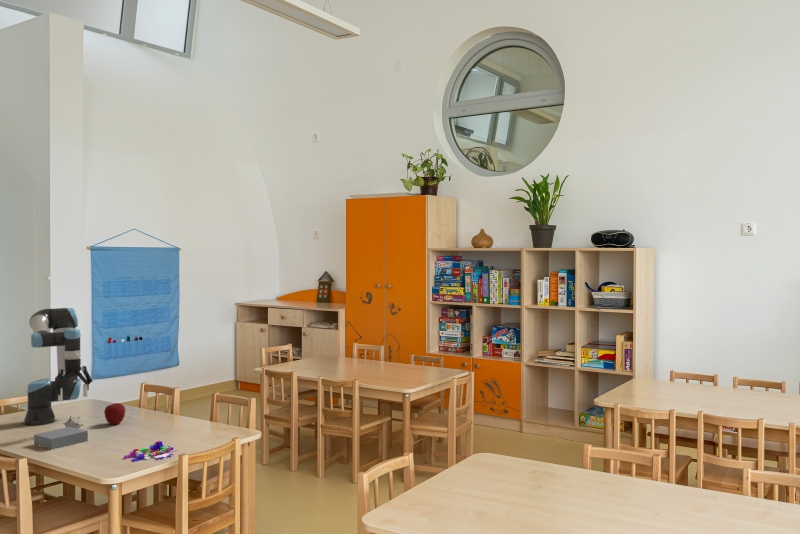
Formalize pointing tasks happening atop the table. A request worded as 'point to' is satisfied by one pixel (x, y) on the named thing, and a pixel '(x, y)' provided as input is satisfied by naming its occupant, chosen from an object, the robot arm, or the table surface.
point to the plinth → (61, 437)
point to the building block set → (154, 447)
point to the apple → (114, 413)
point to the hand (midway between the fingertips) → (73, 398)
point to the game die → (73, 423)
